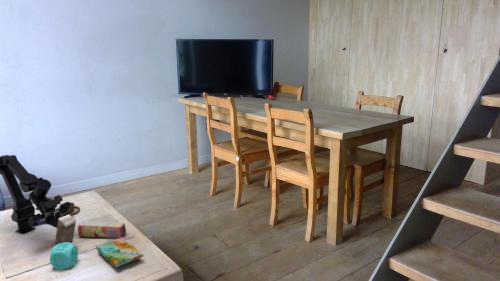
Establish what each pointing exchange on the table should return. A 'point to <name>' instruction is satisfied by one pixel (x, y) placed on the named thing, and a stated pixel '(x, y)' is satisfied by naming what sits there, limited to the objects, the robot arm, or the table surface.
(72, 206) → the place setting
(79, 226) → the snack package
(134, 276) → the table surface
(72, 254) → the decorative dice
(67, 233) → the walnut block
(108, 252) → the puzzle game
